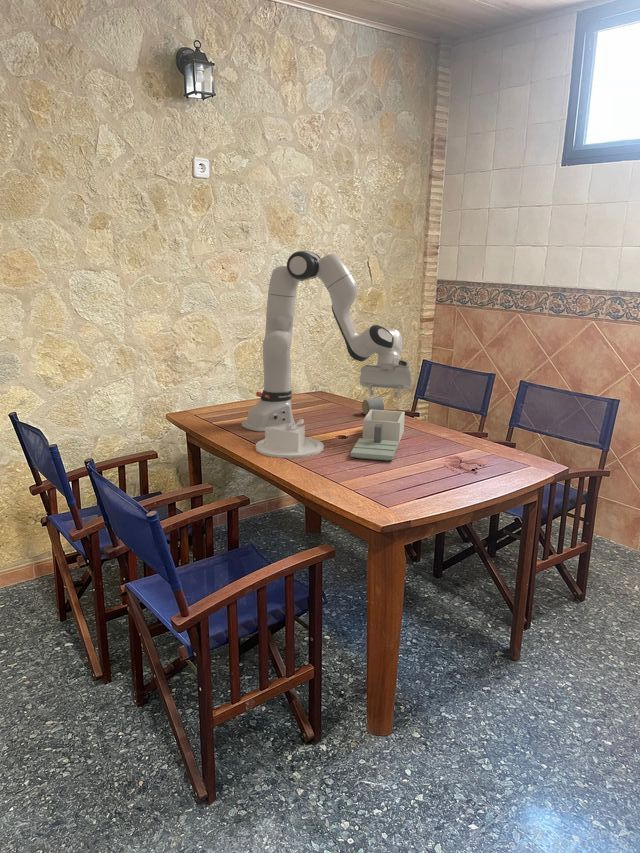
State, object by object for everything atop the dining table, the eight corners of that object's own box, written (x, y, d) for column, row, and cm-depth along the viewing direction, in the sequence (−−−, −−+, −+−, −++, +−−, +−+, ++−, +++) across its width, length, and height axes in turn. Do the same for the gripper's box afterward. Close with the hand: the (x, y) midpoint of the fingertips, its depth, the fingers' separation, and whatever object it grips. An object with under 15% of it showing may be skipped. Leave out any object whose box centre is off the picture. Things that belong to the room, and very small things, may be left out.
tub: (399, 443, 239) (400, 422, 237) (362, 440, 242) (363, 420, 240) (403, 430, 256) (404, 411, 254) (369, 428, 259) (370, 409, 257)
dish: (328, 441, 241) (328, 412, 238) (316, 461, 218) (316, 429, 215) (266, 437, 246) (265, 408, 243) (247, 456, 222) (246, 425, 219)
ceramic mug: (360, 413, 284) (361, 396, 282) (377, 411, 287) (377, 395, 285) (370, 419, 275) (371, 402, 272) (387, 417, 277) (388, 400, 275)
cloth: (448, 455, 228) (448, 448, 227) (508, 466, 217) (509, 459, 216) (425, 470, 211) (426, 463, 211) (490, 483, 200) (490, 476, 199)
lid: (392, 463, 217) (393, 439, 214) (350, 459, 220) (351, 435, 218) (398, 448, 234) (399, 425, 232) (359, 444, 237) (360, 422, 235)
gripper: (361, 360, 246) (355, 389, 239) (413, 363, 241) (410, 393, 235) (362, 369, 251) (357, 398, 245) (414, 372, 247) (410, 402, 240)
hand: (383, 396), depth 240 cm, fingers open, 8 cm apart
